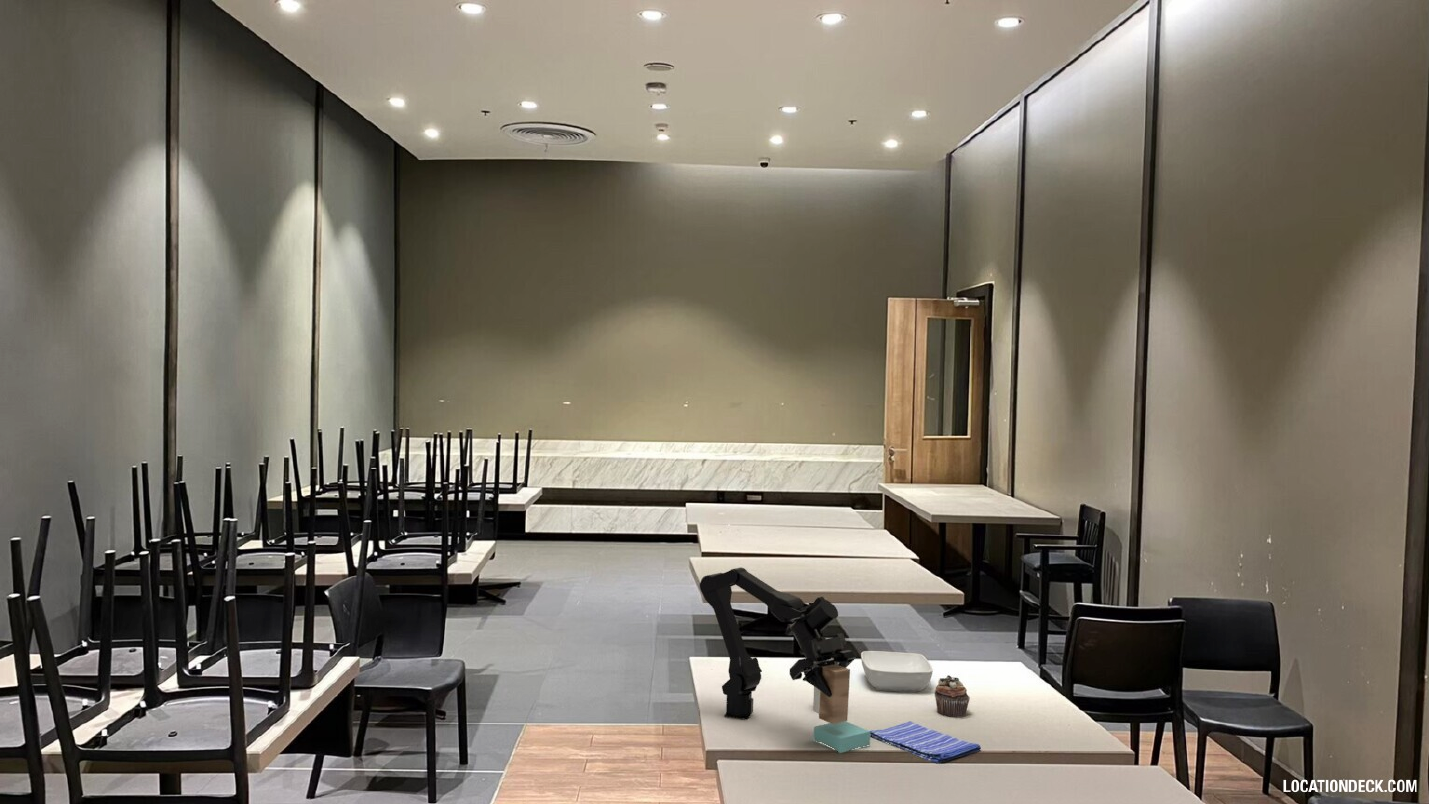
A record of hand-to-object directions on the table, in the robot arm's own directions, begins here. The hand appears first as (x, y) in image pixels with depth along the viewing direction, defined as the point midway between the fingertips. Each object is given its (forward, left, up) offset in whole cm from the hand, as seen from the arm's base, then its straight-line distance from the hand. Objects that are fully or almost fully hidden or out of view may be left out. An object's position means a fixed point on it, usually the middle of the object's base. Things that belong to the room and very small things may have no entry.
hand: (838, 694), depth 263 cm
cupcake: (+26, +40, -14) cm, 50 cm away
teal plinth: (+1, +4, -14) cm, 15 cm away
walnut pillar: (-1, +1, -7) cm, 7 cm away
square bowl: (+8, +61, -14) cm, 63 cm away
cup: (-7, +29, -14) cm, 33 cm away
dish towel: (+21, +12, -14) cm, 28 cm away
